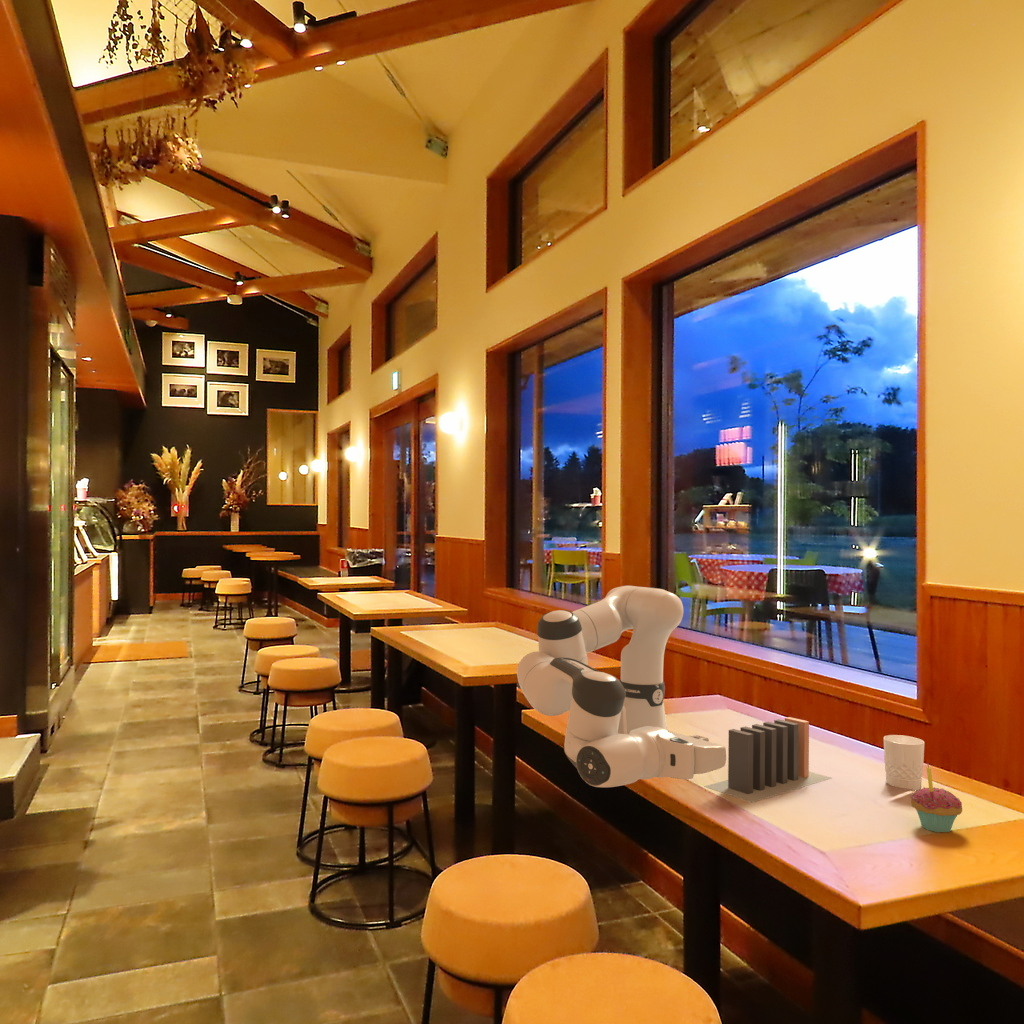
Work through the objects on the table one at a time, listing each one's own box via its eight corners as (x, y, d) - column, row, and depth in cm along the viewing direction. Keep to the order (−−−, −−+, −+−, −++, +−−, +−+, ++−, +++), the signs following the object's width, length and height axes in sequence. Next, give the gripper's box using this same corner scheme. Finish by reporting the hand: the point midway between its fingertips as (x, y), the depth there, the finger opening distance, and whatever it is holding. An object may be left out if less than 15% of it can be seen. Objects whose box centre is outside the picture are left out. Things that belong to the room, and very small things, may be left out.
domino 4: (762, 778, 177) (763, 722, 177) (767, 776, 178) (767, 721, 178) (782, 784, 173) (783, 727, 173) (787, 782, 174) (787, 726, 174)
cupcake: (939, 839, 144) (939, 771, 145) (899, 823, 152) (899, 758, 152) (972, 832, 148) (973, 766, 148) (932, 817, 156) (932, 754, 156)
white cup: (929, 793, 169) (929, 745, 170) (888, 790, 171) (888, 743, 171) (918, 782, 177) (918, 736, 177) (879, 779, 179) (879, 733, 179)
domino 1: (728, 787, 170) (728, 729, 170) (733, 786, 171) (733, 728, 171) (748, 794, 166) (748, 735, 166) (752, 792, 167) (753, 733, 167)
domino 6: (784, 772, 181) (784, 717, 181) (788, 770, 182) (789, 717, 182) (804, 777, 177) (804, 722, 177) (808, 776, 178) (809, 721, 178)
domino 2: (740, 784, 172) (740, 727, 172) (744, 783, 173) (745, 726, 173) (759, 790, 168) (760, 732, 168) (764, 789, 169) (765, 731, 169)
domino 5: (773, 775, 179) (774, 720, 179) (778, 773, 180) (778, 719, 180) (793, 780, 175) (794, 724, 175) (798, 779, 176) (798, 723, 176)
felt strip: (703, 789, 170) (704, 786, 170) (784, 767, 187) (784, 764, 187) (751, 805, 161) (751, 802, 161) (832, 780, 177) (832, 777, 177)
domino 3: (751, 781, 174) (752, 725, 174) (756, 779, 175) (756, 724, 175) (771, 787, 170) (771, 729, 170) (776, 786, 171) (776, 728, 171)
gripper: (615, 756, 161) (664, 745, 169) (695, 782, 144) (744, 769, 152) (615, 724, 161) (664, 714, 169) (695, 746, 144) (744, 735, 152)
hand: (703, 740), depth 161 cm, fingers closed
